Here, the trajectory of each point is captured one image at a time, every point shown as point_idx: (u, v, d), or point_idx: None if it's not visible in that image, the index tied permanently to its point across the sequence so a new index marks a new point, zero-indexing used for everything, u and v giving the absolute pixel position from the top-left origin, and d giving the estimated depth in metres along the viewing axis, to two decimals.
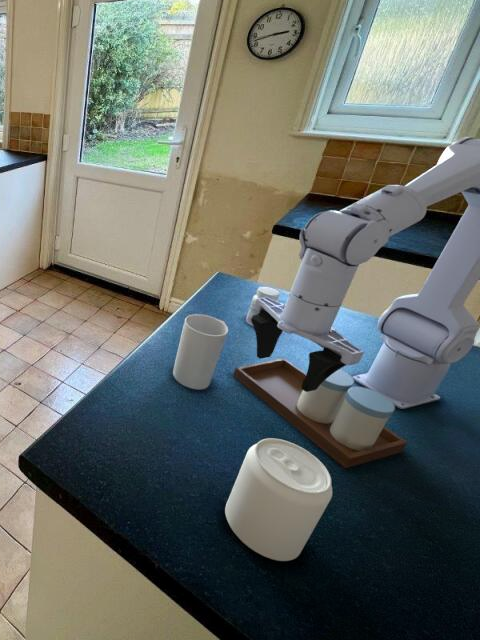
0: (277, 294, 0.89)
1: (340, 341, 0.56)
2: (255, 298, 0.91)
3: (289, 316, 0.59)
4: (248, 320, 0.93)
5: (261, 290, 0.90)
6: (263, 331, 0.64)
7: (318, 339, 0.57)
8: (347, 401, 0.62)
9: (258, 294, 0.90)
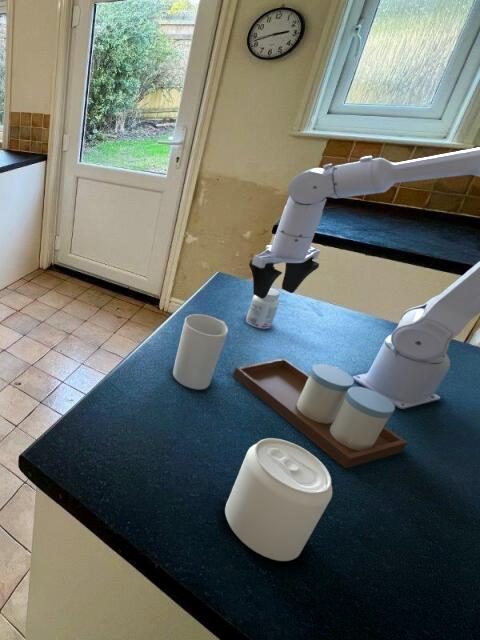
0: (277, 294, 0.89)
1: (270, 256, 0.80)
2: (255, 298, 0.91)
3: None
4: (248, 320, 0.93)
5: None
6: (286, 263, 0.85)
7: None
8: (347, 401, 0.62)
9: None
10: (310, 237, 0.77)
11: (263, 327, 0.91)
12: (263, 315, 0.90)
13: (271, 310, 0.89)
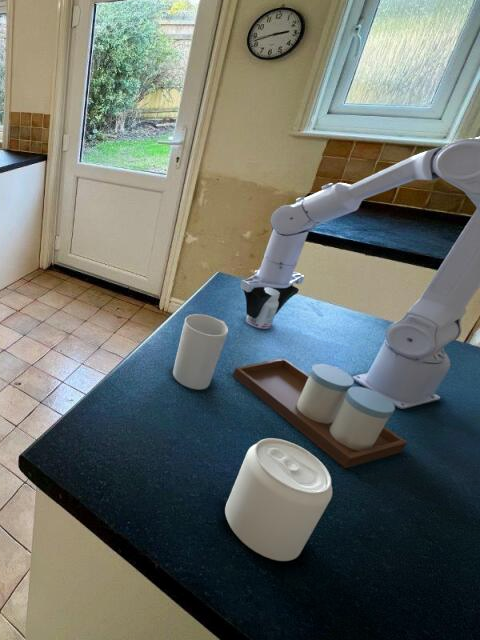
0: (277, 294, 0.89)
1: (256, 281, 0.87)
2: None
3: None
4: (248, 320, 0.93)
5: None
6: None
7: None
8: (347, 401, 0.62)
9: None
10: (293, 265, 0.84)
11: (263, 327, 0.91)
12: (263, 315, 0.90)
13: (271, 310, 0.89)
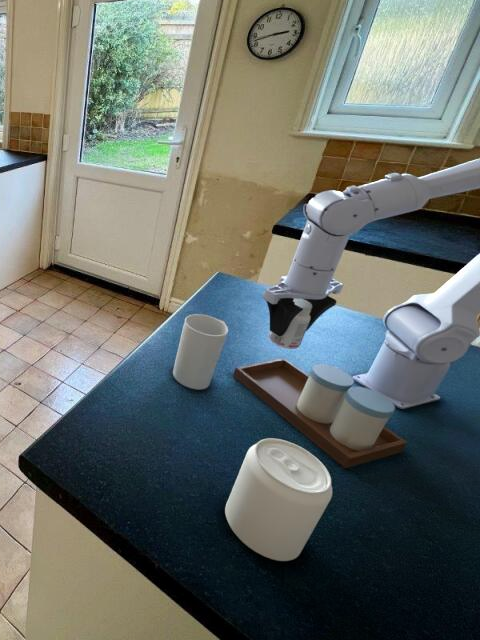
0: (309, 306, 0.71)
1: (284, 290, 0.70)
2: None
3: None
4: (271, 338, 0.76)
5: None
6: None
7: (278, 284, 0.72)
8: (347, 401, 0.62)
9: None
10: (331, 271, 0.67)
11: (290, 347, 0.74)
12: (291, 332, 0.73)
13: (301, 326, 0.72)
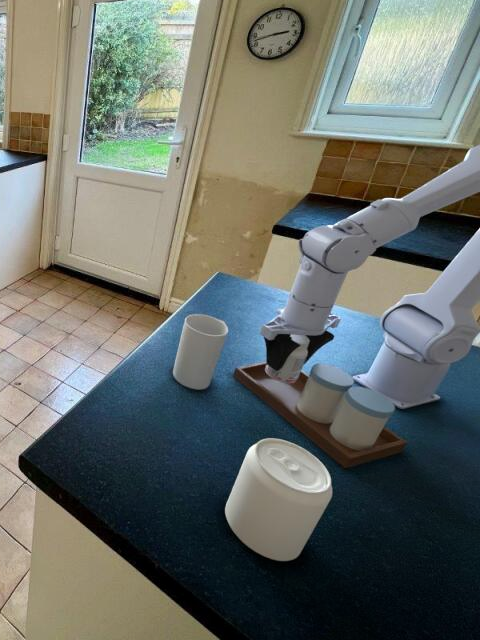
0: (306, 341, 0.69)
1: (281, 326, 0.68)
2: None
3: None
4: (268, 371, 0.74)
5: None
6: None
7: (274, 318, 0.70)
8: (347, 401, 0.62)
9: None
10: (329, 307, 0.65)
11: (287, 382, 0.72)
12: (288, 367, 0.71)
13: (298, 361, 0.70)
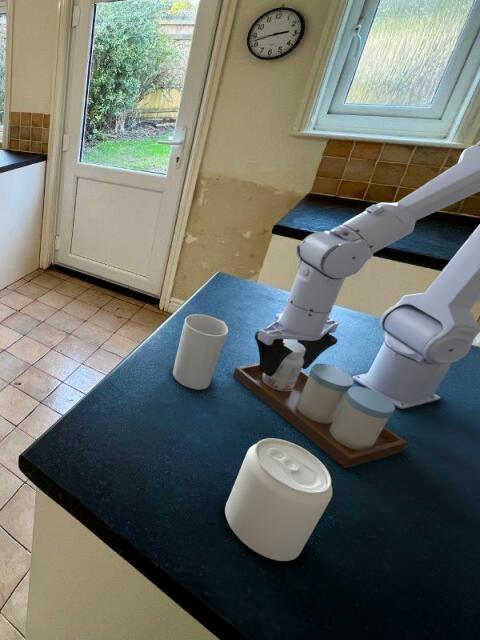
0: (302, 350, 0.70)
1: (279, 331, 0.69)
2: None
3: None
4: (265, 379, 0.75)
5: None
6: None
7: (273, 323, 0.71)
8: (347, 401, 0.62)
9: None
10: (327, 312, 0.66)
11: (284, 390, 0.73)
12: (284, 375, 0.72)
13: (294, 370, 0.71)
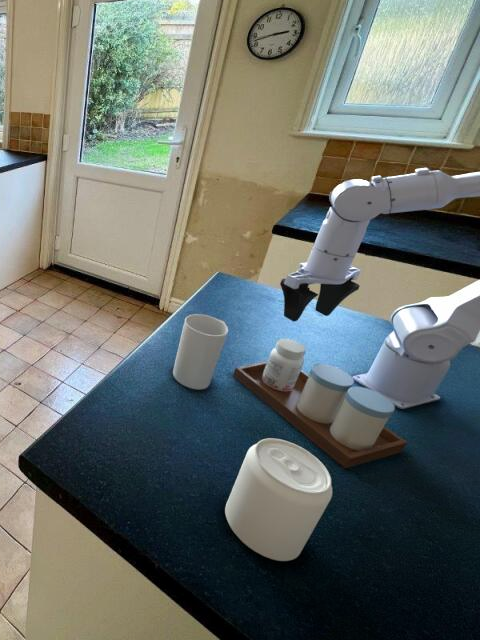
0: (302, 350, 0.70)
1: (305, 276, 0.72)
2: (274, 354, 0.73)
3: None
4: (265, 379, 0.75)
5: (282, 344, 0.72)
6: None
7: (298, 270, 0.74)
8: (347, 401, 0.62)
9: (278, 349, 0.72)
10: (351, 256, 0.69)
11: (284, 390, 0.73)
12: (284, 375, 0.72)
13: (294, 370, 0.71)
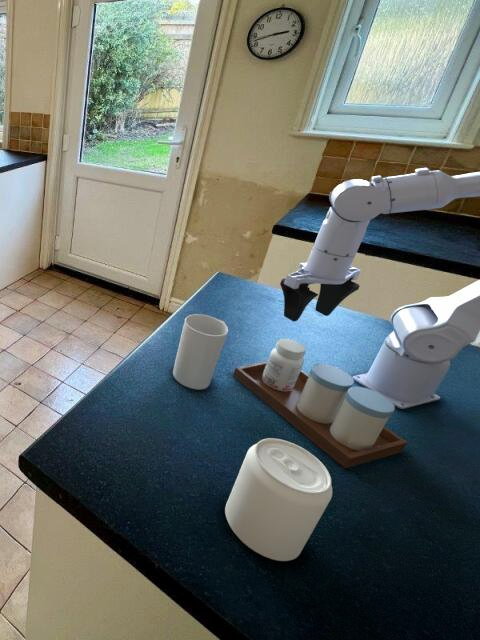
0: (302, 350, 0.70)
1: (305, 276, 0.72)
2: (274, 354, 0.73)
3: None
4: (265, 379, 0.75)
5: (282, 344, 0.72)
6: None
7: (298, 270, 0.75)
8: (347, 401, 0.62)
9: (278, 349, 0.72)
10: (351, 256, 0.69)
11: (284, 390, 0.73)
12: (284, 375, 0.72)
13: (294, 370, 0.71)
